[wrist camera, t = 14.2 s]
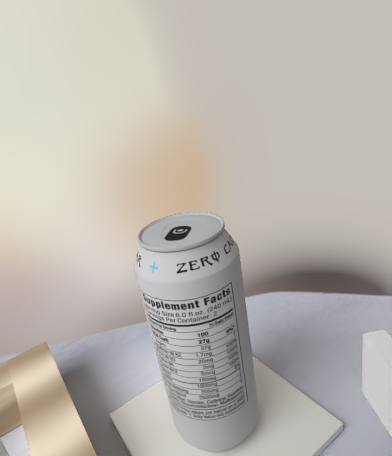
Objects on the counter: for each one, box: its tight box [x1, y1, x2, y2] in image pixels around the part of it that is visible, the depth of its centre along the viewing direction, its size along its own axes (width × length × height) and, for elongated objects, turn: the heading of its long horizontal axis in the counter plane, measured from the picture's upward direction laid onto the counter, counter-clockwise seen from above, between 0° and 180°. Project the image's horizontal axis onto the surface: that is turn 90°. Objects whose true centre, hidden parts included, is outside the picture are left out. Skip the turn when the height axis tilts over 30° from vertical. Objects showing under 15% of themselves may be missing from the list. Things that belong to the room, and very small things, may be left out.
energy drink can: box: [134, 212, 258, 453], centre depth 22 cm, size 6×6×15 cm
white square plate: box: [110, 356, 343, 456], centre depth 25 cm, size 12×12×1 cm
